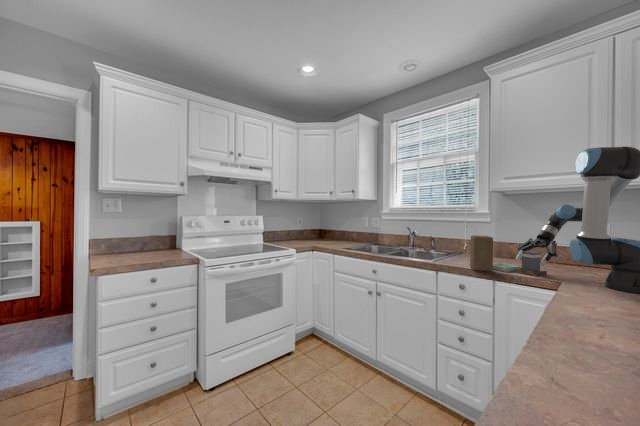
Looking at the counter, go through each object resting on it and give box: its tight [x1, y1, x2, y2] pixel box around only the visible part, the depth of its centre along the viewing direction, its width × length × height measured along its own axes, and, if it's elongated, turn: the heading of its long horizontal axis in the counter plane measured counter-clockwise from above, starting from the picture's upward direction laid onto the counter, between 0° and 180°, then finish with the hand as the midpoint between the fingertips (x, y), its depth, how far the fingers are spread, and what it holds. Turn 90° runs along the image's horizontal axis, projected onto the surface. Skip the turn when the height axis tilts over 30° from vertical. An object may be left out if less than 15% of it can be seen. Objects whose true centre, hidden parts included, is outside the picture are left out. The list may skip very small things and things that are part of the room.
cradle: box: [514, 267, 547, 277], centre depth 158 cm, size 10×10×2 cm
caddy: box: [521, 250, 542, 272], centre depth 158 cm, size 6×6×12 cm
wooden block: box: [469, 234, 494, 273], centre depth 166 cm, size 10×10×20 cm
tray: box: [493, 262, 521, 273], centre depth 168 cm, size 12×12×2 cm
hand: (529, 261), depth 158 cm, fingers open, 13 cm apart
